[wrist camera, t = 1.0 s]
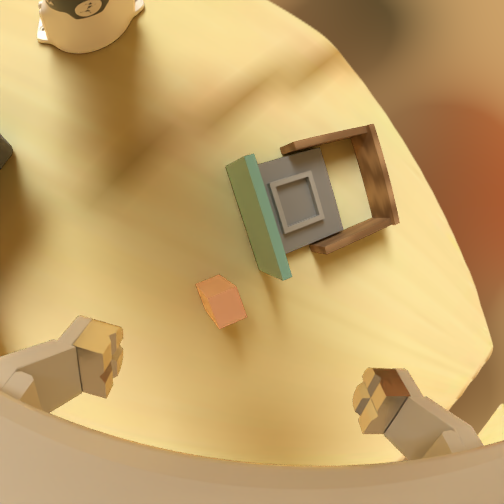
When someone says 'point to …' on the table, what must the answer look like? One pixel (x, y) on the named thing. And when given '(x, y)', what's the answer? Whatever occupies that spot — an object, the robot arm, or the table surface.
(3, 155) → the storage bin
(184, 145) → the table surface
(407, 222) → the table surface
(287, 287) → the table surface
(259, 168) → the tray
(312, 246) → the dock
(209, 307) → the terracotta block
